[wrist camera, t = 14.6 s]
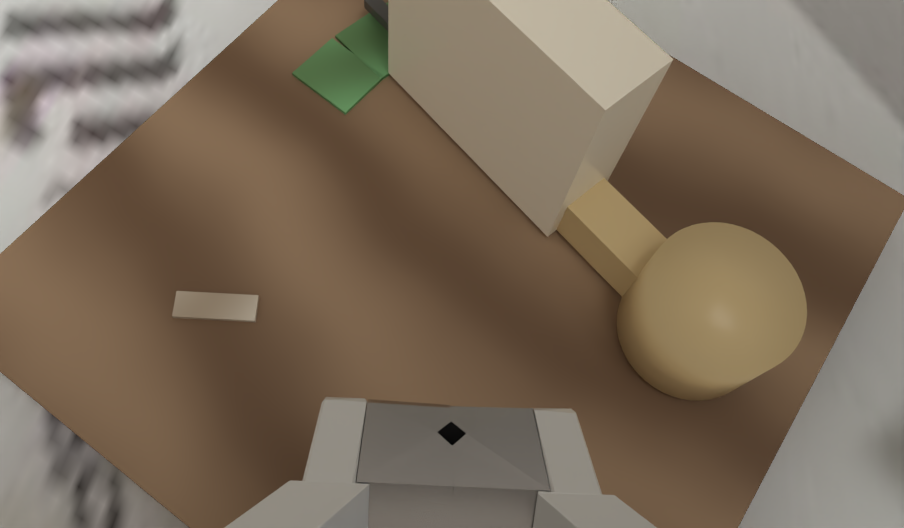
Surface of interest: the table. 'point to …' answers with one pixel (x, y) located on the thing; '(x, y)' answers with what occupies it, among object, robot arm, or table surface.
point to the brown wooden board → (399, 278)
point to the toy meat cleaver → (596, 176)
